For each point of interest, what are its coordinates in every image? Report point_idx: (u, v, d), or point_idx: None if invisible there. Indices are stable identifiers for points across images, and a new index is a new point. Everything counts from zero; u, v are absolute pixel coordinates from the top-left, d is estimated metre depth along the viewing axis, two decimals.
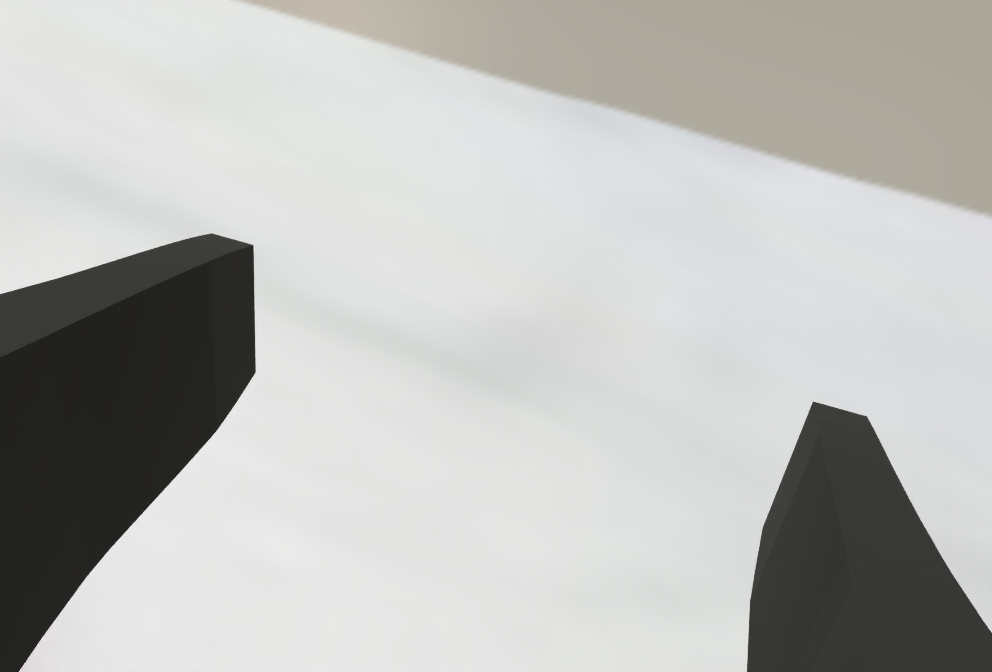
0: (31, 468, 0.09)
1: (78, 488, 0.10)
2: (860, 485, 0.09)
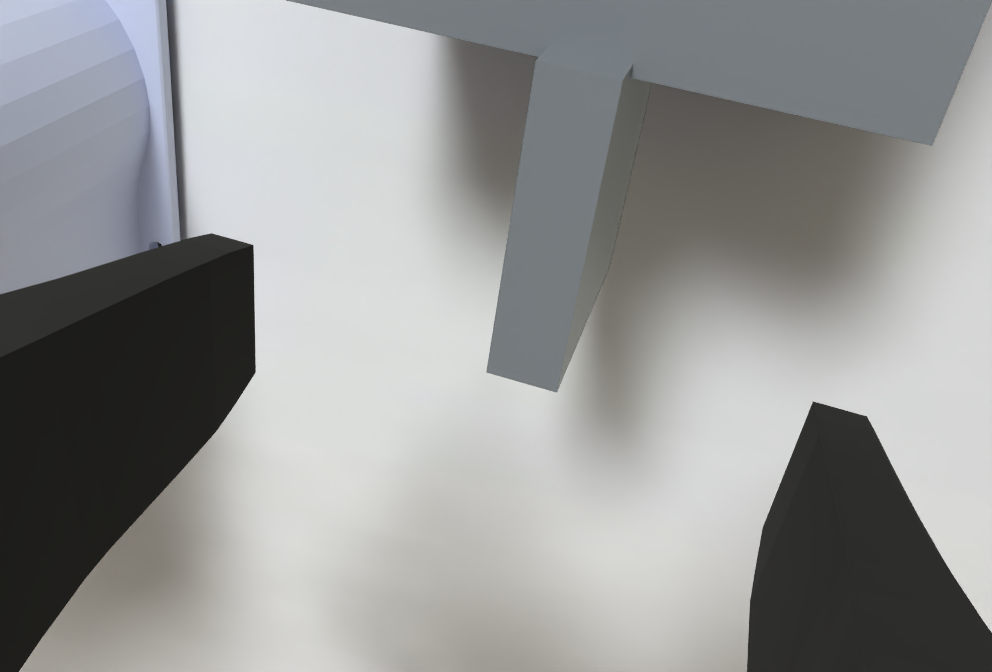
0: (31, 468, 0.09)
1: (78, 488, 0.10)
2: (860, 485, 0.09)
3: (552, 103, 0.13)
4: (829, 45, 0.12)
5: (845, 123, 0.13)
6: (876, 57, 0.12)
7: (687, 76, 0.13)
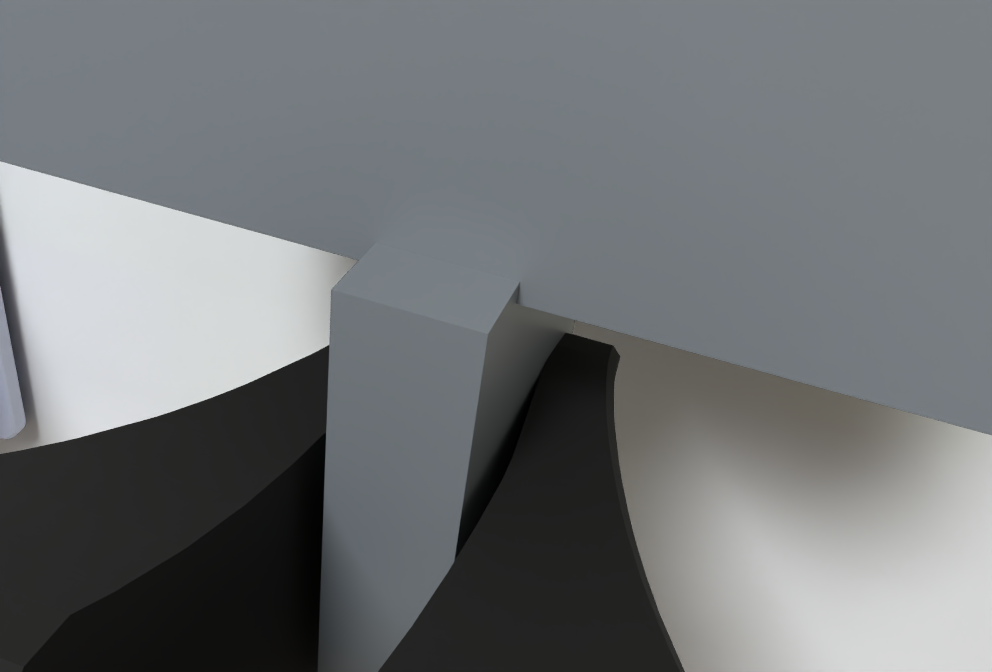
0: (306, 562, 0.09)
1: None
2: (563, 398, 0.09)
3: (369, 360, 0.07)
4: (878, 276, 0.06)
5: (906, 408, 0.07)
6: (970, 303, 0.06)
7: (616, 309, 0.07)
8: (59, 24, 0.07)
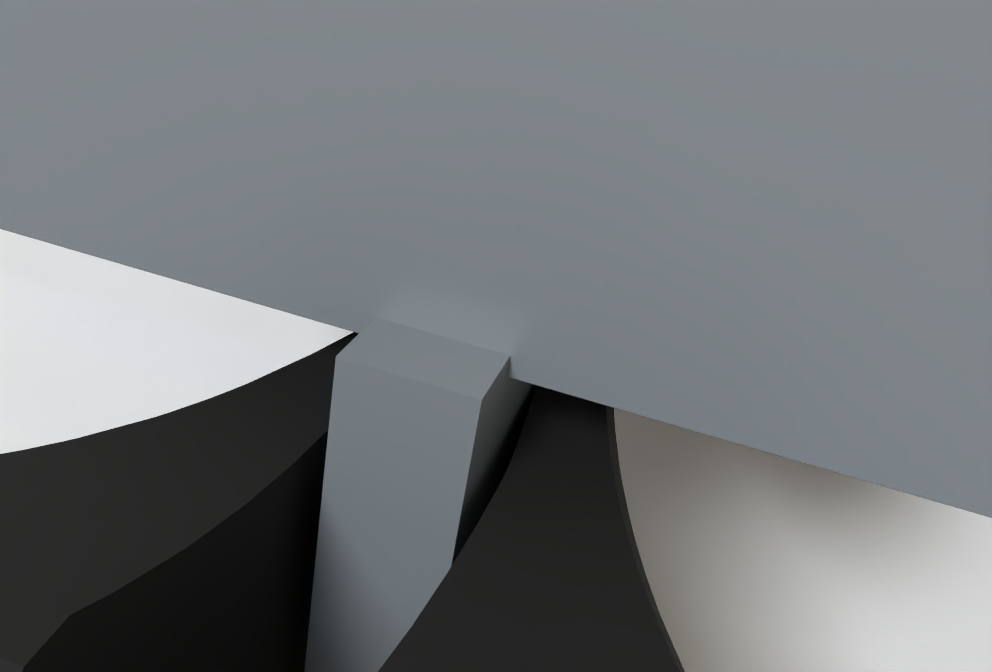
0: (305, 562, 0.09)
1: None
2: (563, 398, 0.09)
3: (367, 424, 0.08)
4: (839, 353, 0.07)
5: (867, 478, 0.07)
6: (922, 378, 0.07)
7: (599, 381, 0.08)
8: (92, 110, 0.08)
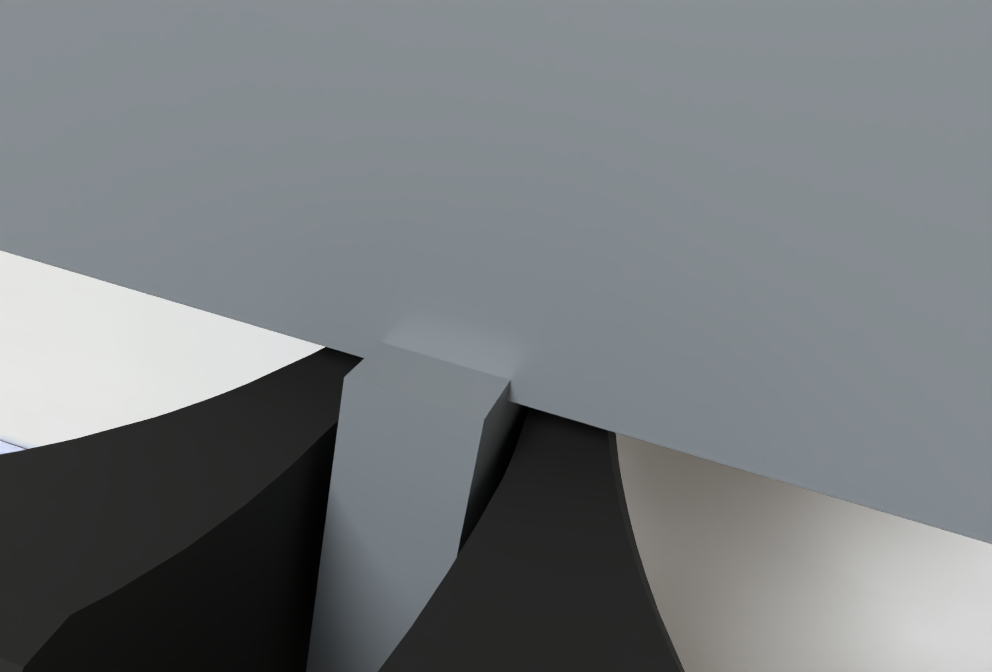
0: (306, 562, 0.09)
1: None
2: None
3: (372, 444, 0.08)
4: (824, 378, 0.07)
5: (852, 499, 0.08)
6: (903, 402, 0.07)
7: (595, 405, 0.08)
8: (113, 142, 0.08)
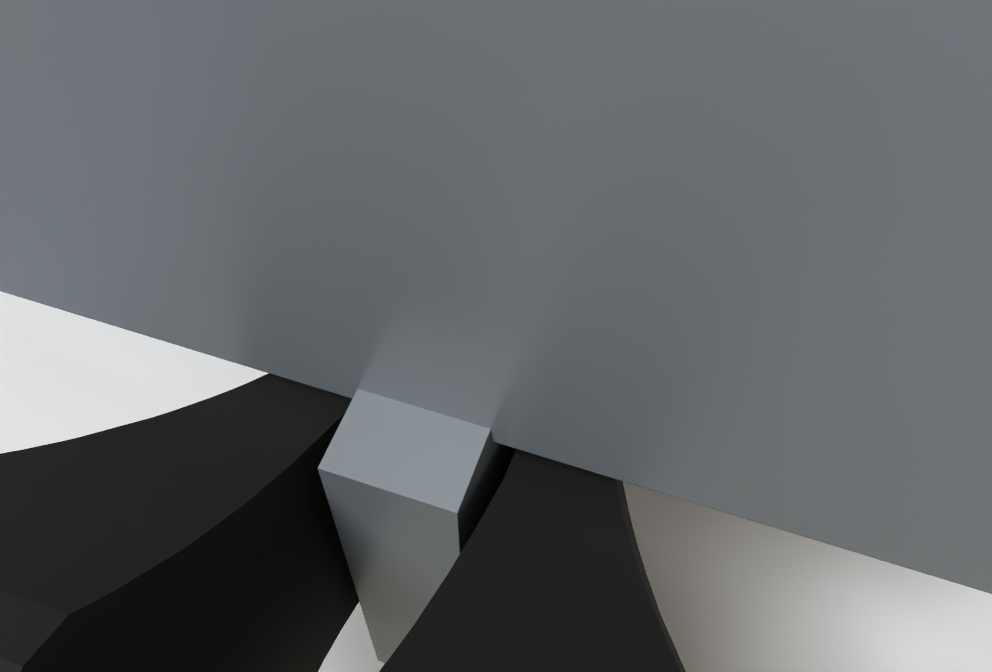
0: (305, 562, 0.09)
1: (330, 574, 0.10)
2: None
3: (361, 508, 0.08)
4: (812, 472, 0.07)
5: None
6: (898, 498, 0.07)
7: (579, 457, 0.08)
8: (29, 217, 0.08)
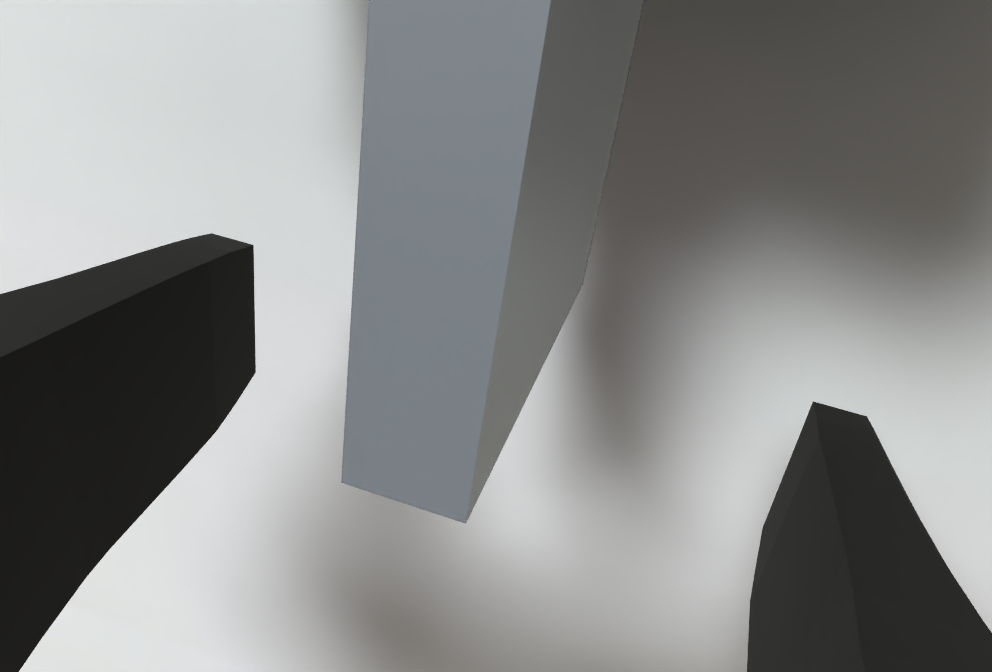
0: (31, 468, 0.09)
1: (78, 488, 0.10)
2: (860, 485, 0.09)
3: None
4: None
5: None
6: None
7: None
8: None
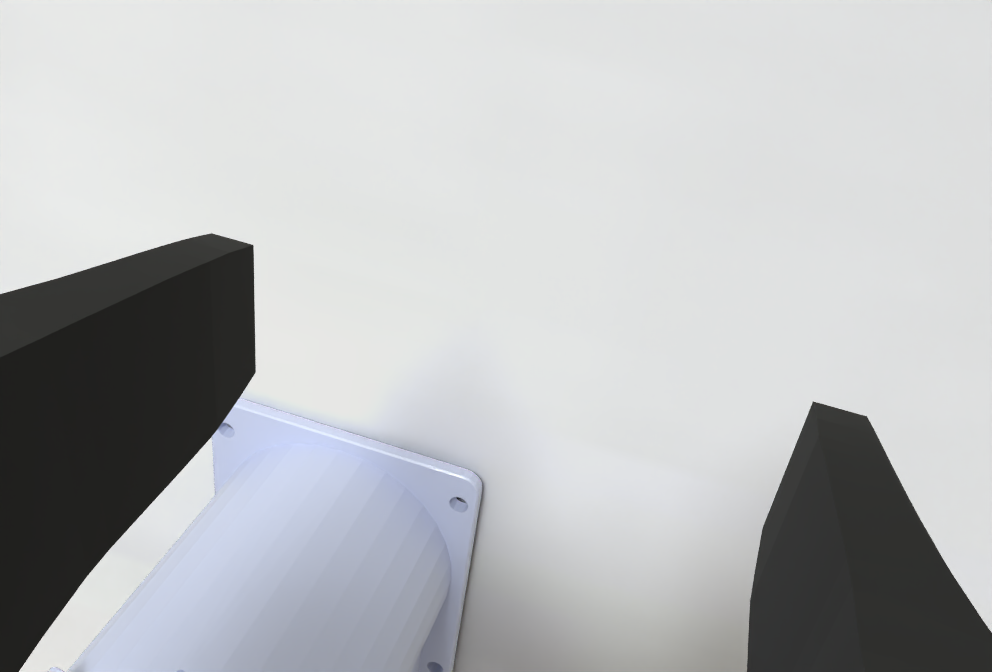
0: (31, 468, 0.09)
1: (78, 488, 0.10)
2: (860, 485, 0.09)
3: None
4: None
5: None
6: None
7: None
8: None
